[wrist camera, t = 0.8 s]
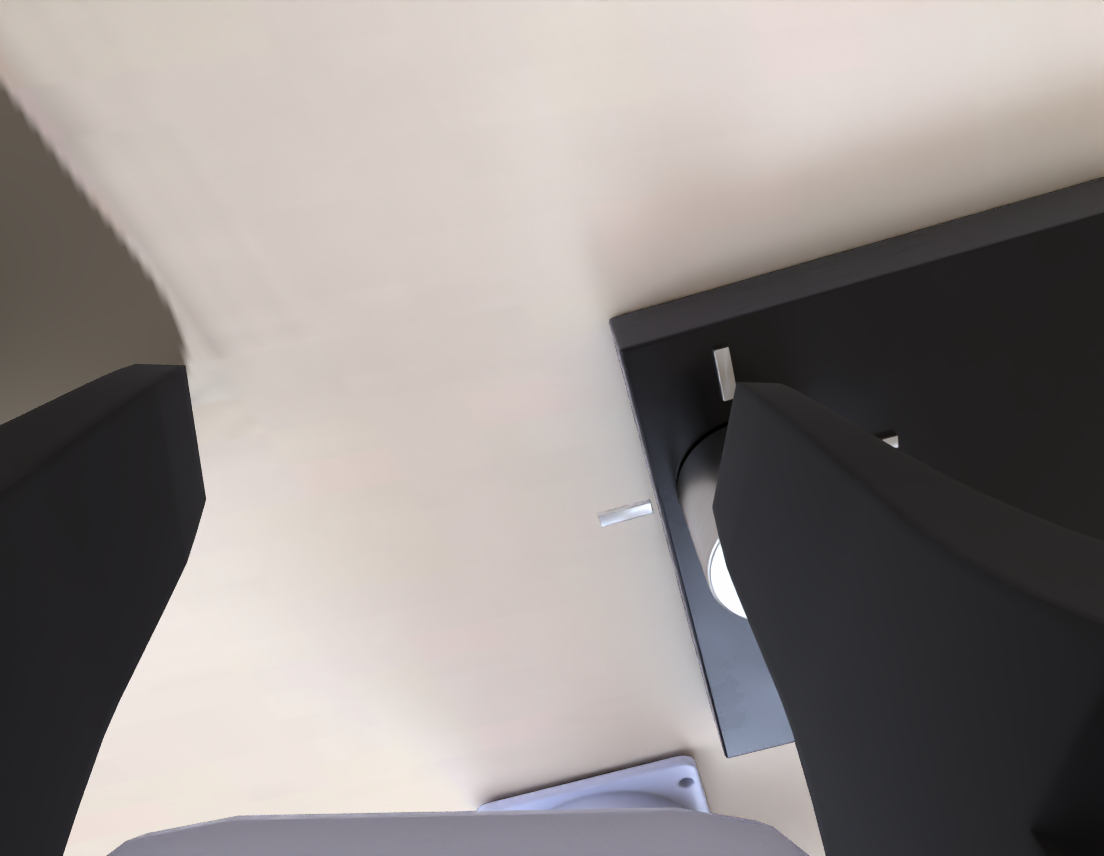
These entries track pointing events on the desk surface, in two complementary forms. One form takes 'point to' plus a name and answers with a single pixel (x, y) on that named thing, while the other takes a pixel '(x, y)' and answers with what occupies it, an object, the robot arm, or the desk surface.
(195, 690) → the desk surface
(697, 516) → the knob
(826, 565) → the robot arm
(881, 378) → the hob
